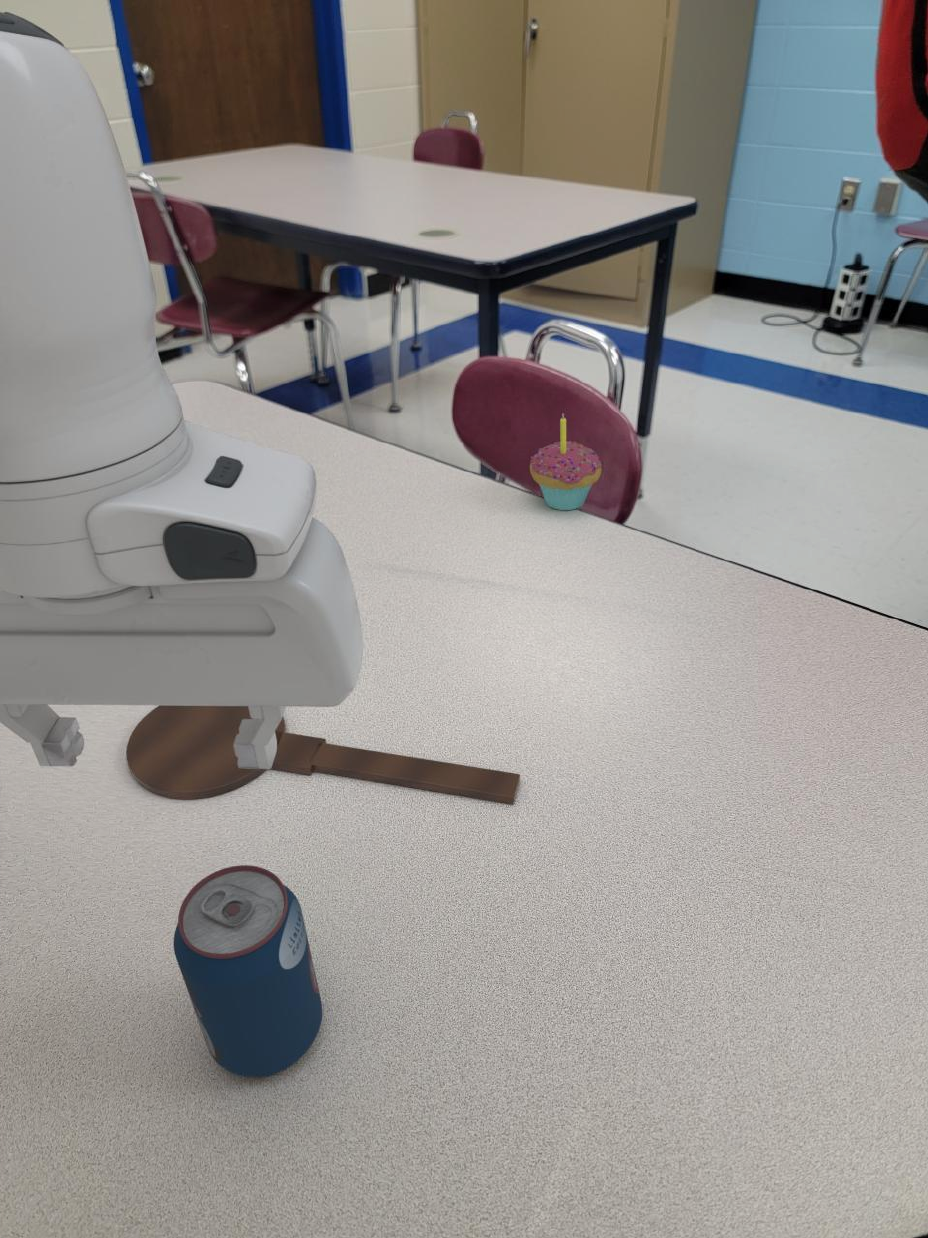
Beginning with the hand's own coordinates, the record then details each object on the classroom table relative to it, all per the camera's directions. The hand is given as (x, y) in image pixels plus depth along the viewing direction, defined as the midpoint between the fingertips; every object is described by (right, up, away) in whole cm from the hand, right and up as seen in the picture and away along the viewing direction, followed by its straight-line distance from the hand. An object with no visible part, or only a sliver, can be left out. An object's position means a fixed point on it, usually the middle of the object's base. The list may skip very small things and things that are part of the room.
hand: (161, 758), depth 43 cm
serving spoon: (+3, -5, +31) cm, 31 cm away
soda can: (+2, -19, +12) cm, 22 cm away
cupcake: (+26, +21, +66) cm, 74 cm away
